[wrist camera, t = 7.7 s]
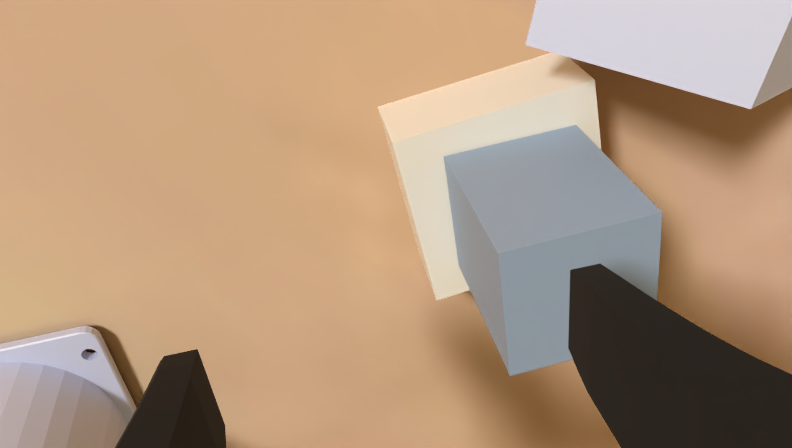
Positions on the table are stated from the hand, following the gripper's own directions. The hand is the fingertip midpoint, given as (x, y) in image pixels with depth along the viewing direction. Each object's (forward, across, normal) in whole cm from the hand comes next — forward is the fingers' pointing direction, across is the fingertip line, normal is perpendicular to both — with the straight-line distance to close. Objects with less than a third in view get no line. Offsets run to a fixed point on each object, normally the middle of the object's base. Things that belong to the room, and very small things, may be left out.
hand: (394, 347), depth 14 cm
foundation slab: (+11, -5, +2) cm, 12 cm away
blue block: (+8, -5, +2) cm, 9 cm away
